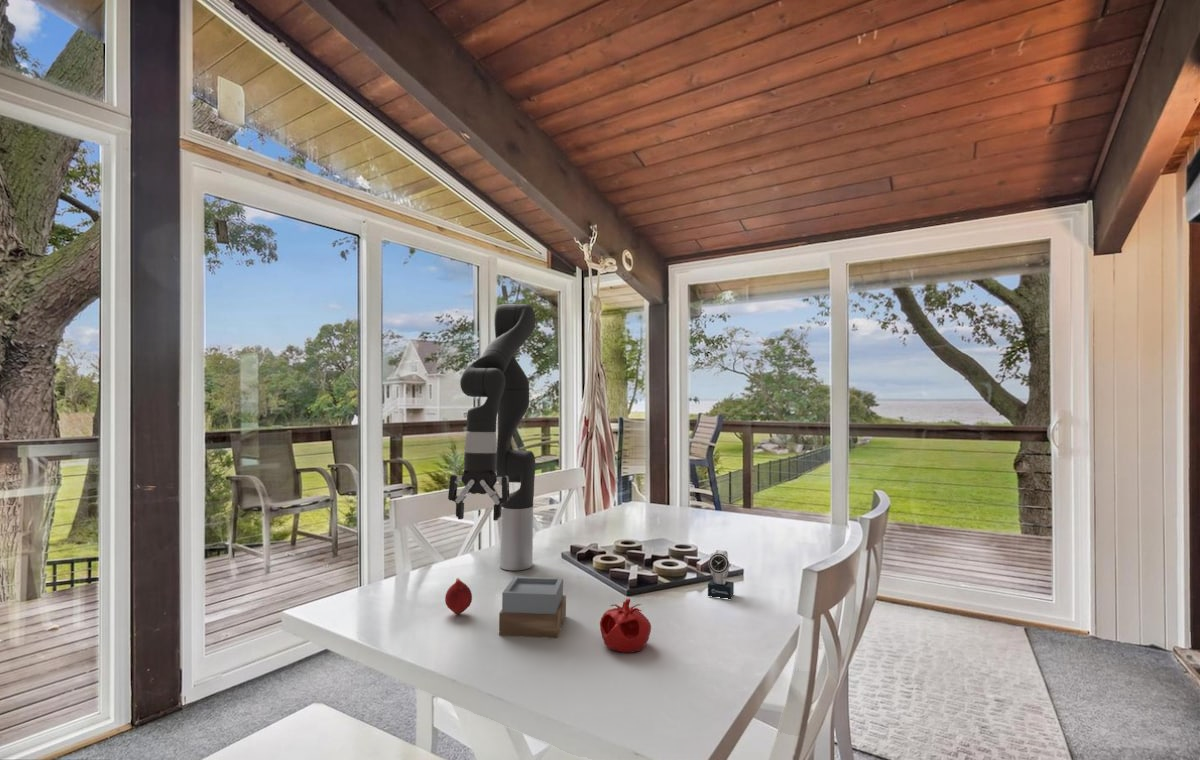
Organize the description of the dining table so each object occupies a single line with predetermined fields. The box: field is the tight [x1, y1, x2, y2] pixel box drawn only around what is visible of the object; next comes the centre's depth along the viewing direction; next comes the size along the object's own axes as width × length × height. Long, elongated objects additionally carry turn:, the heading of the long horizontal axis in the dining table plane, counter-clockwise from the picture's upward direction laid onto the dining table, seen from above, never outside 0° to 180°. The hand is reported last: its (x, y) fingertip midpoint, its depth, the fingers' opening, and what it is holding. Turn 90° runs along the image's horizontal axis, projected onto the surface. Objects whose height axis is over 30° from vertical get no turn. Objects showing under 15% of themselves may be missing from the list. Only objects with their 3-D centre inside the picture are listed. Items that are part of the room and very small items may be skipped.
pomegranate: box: [599, 598, 652, 653], centre depth 116 cm, size 10×10×9 cm
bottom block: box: [498, 594, 567, 639], centre depth 126 cm, size 12×12×5 cm
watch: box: [707, 549, 735, 600], centre depth 146 cm, size 6×8×11 cm
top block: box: [501, 576, 564, 614], centre depth 126 cm, size 11×11×4 cm
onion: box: [444, 577, 473, 616], centre depth 131 cm, size 6×6×8 cm
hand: (478, 519), depth 139 cm, fingers open, 8 cm apart
